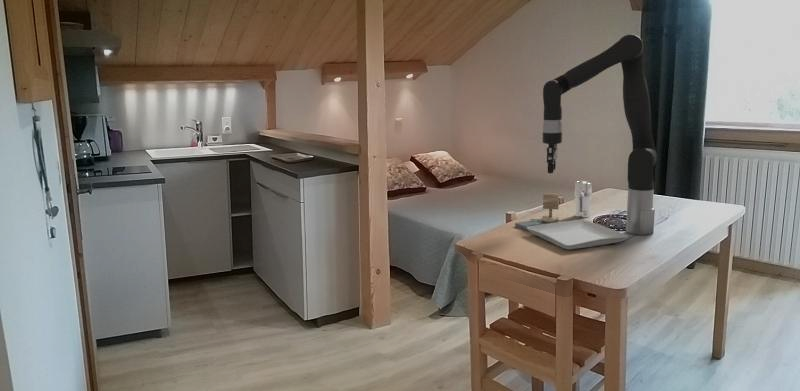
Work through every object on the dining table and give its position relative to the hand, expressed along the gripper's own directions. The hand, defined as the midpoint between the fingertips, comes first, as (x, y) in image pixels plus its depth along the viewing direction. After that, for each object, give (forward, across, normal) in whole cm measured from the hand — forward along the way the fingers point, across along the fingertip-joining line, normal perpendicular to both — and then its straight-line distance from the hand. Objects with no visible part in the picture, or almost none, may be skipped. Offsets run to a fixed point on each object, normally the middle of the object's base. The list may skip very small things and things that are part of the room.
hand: (551, 171), depth 253 cm
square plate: (+23, -18, -11) cm, 31 cm away
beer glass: (+23, +20, -11) cm, 32 cm away
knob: (+21, 0, +2) cm, 21 cm away
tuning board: (+22, -3, +3) cm, 23 cm away
